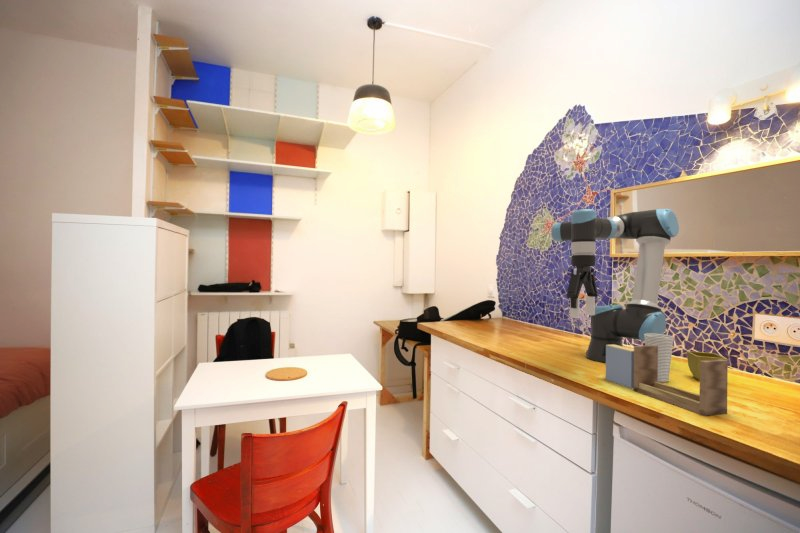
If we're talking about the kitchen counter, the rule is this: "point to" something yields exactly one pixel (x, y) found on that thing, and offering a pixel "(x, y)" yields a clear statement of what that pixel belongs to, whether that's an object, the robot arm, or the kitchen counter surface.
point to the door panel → (620, 365)
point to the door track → (704, 404)
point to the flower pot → (696, 357)
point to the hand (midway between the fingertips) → (582, 316)
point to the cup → (661, 353)
